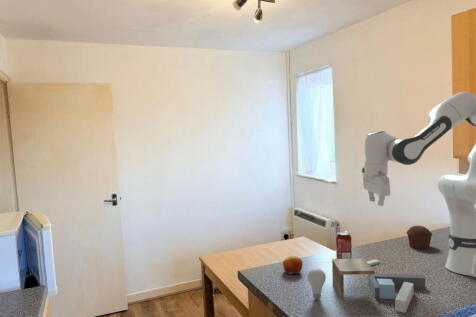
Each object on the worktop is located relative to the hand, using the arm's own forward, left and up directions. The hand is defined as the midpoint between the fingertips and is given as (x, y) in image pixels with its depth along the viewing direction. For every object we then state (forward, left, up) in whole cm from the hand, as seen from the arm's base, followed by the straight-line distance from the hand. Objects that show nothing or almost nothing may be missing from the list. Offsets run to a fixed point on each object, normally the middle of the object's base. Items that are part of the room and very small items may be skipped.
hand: (376, 203), depth 150 cm
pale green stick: (+4, -3, -28) cm, 28 cm away
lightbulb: (+31, +28, -28) cm, 50 cm away
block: (+6, +26, -28) cm, 38 cm away
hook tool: (0, +23, -28) cm, 36 cm away
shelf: (+17, +23, -27) cm, 40 cm away
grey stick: (+2, +31, -28) cm, 42 cm away
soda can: (+11, -12, -28) cm, 32 cm away
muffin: (-30, -27, -28) cm, 49 cm away
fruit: (+36, +3, -28) cm, 45 cm away
